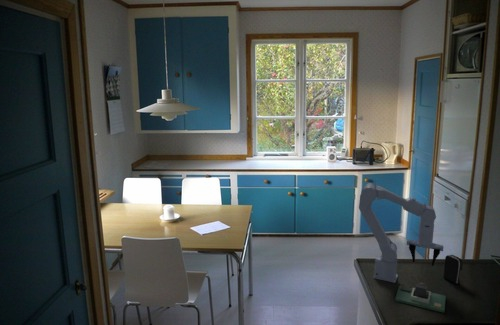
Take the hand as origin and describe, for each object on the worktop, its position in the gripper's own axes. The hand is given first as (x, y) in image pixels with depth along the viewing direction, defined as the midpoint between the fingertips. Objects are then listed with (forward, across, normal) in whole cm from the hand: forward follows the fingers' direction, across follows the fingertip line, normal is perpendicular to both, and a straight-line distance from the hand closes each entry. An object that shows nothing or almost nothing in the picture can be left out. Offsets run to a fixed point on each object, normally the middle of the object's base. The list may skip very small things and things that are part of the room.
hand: (423, 263), depth 173 cm
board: (+9, +1, -15) cm, 18 cm away
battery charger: (+10, +12, +9) cm, 18 cm away
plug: (+8, +1, -15) cm, 17 cm away
